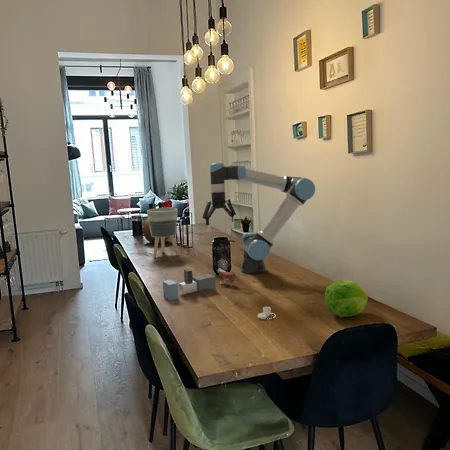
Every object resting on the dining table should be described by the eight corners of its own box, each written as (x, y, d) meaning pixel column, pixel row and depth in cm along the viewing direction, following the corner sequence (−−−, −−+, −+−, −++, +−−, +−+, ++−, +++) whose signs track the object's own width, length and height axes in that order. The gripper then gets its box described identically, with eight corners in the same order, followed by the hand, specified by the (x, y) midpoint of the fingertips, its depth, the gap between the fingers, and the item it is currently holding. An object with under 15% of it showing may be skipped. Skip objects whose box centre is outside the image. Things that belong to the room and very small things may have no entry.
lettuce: (376, 321, 185) (383, 287, 182) (338, 326, 177) (344, 290, 174) (350, 305, 200) (356, 274, 197) (314, 309, 192) (319, 276, 188)
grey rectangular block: (209, 286, 236) (208, 273, 235) (216, 290, 230) (215, 276, 229) (192, 290, 231) (192, 276, 230) (199, 293, 225) (198, 279, 224)
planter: (185, 255, 314) (183, 209, 308) (158, 260, 302) (154, 212, 296) (171, 250, 331) (168, 206, 326) (145, 255, 319) (141, 209, 314)
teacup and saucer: (261, 321, 185) (261, 312, 185) (252, 315, 192) (252, 307, 192) (279, 318, 189) (279, 309, 188) (270, 312, 196) (270, 303, 195)
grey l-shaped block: (208, 285, 234) (207, 265, 232) (212, 287, 230) (211, 266, 228) (179, 291, 225) (178, 270, 224) (183, 293, 221) (181, 272, 220)
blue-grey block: (171, 294, 225) (170, 279, 224) (178, 298, 218) (177, 283, 217) (163, 296, 223) (162, 281, 222) (170, 300, 216) (169, 284, 215)
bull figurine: (220, 281, 246) (219, 266, 244) (237, 285, 236) (237, 270, 235) (214, 282, 243) (213, 268, 241) (231, 287, 233) (231, 272, 232)
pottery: (144, 241, 372) (142, 211, 368) (172, 239, 375) (170, 210, 371) (142, 246, 350) (140, 215, 346) (171, 244, 352) (169, 213, 348)
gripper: (233, 189, 251) (235, 225, 254) (194, 193, 238) (197, 231, 242) (240, 189, 244) (242, 227, 248) (201, 193, 232) (203, 233, 235)
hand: (220, 229), depth 245 cm, fingers open, 13 cm apart
